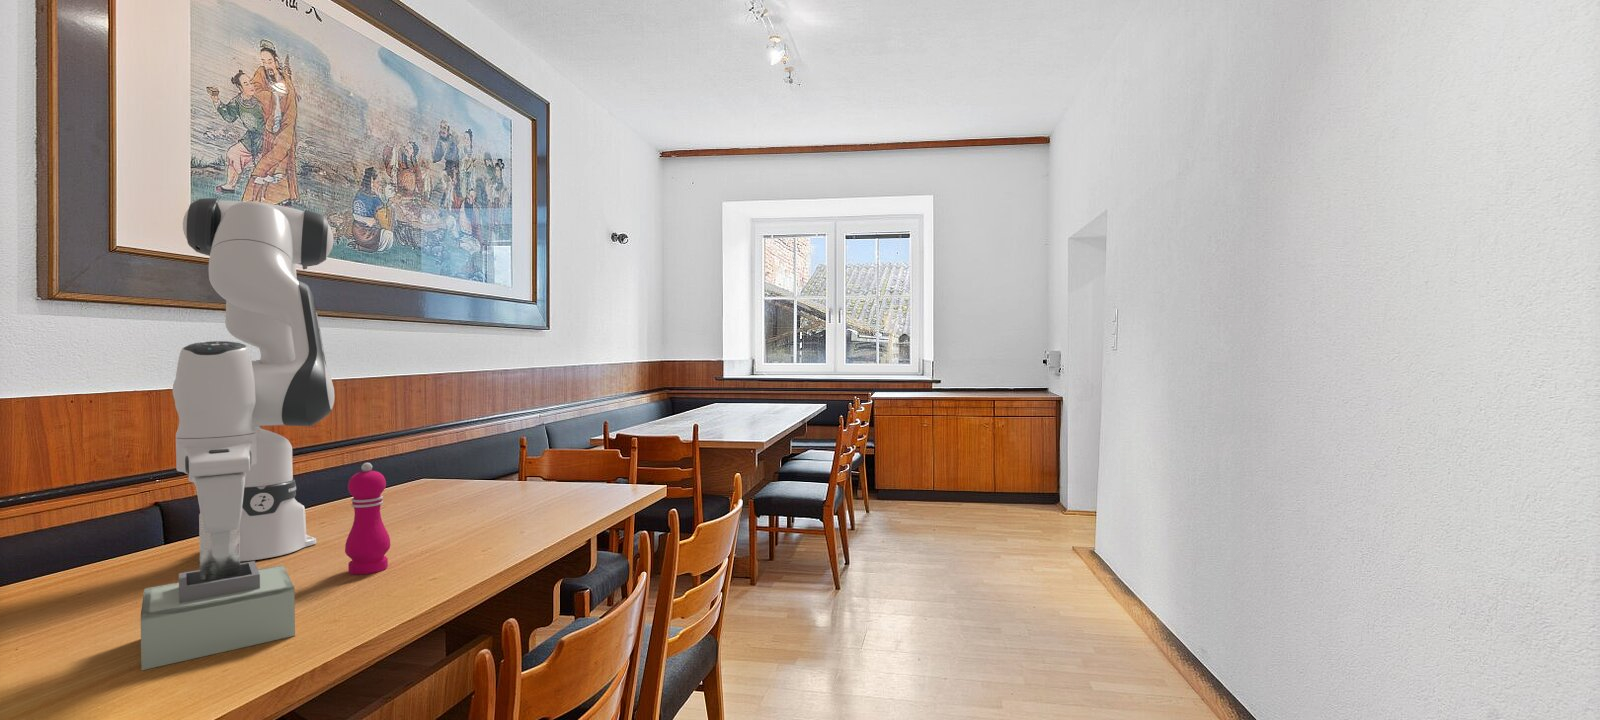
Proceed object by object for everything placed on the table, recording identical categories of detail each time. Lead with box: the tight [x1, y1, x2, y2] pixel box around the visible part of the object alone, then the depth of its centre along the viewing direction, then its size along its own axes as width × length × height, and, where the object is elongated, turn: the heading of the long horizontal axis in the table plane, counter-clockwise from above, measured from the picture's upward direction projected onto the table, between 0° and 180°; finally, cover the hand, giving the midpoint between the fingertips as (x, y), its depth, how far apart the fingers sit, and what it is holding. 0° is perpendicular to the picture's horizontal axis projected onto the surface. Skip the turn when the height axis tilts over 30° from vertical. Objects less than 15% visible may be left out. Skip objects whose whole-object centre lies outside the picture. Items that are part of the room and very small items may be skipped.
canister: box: [198, 513, 241, 580], centre depth 100 cm, size 4×4×12 cm
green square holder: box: [139, 560, 296, 671], centre depth 100 cm, size 14×16×9 cm
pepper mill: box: [344, 462, 391, 576], centre depth 130 cm, size 7×7×20 cm
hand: (219, 552), depth 100 cm, fingers closed on canister, 4 cm apart
